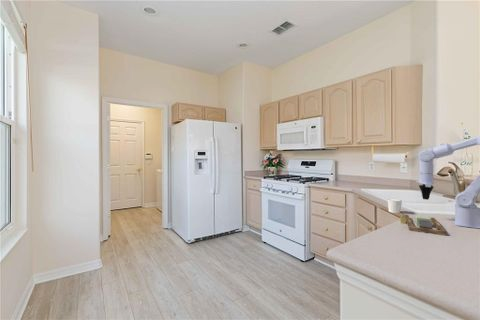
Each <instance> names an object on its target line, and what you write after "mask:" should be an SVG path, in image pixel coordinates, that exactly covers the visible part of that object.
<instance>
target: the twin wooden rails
mask: <svg viewBox="0 0 480 320" xmlns="http://www.w3.org/2000/svg"><path fill="white" fill-rule="evenodd" d="M405 218H406V225H407V227H408V230H409V231H411V232H417V233H426V234H433V235H440V236H447V231H446V230H445V229H444V228H443V226H441V224H440V223H439V222H438V220H437V219H436V218H435V217H430V219H431V222H432V226H434V227H435V229H433V228H432V229H428V228H420V227H419V226H414V224H413V223H412V220H411V218H410V216H409V214H405Z"/></svg>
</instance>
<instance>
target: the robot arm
mask: <svg viewBox="0 0 480 320" xmlns="http://www.w3.org/2000/svg"><path fill="white" fill-rule="evenodd" d="M473 146H480V135H477V136H474V137H471V138H468V139H465V140H462V141H459V142H455V143H452V144H449V143H443V142H442V143H440V144H439V145H436V146H434V147H428V149H423V150H421V151H419V152H418V154H417V157H418V160H419V165H418V180H416V181H415V183H417V184H420V185H418V187H419V189H420V192H421V196H422V199H423V200H429V199H430V195H431V193H432V190H434V186H433V184H434V183H435V182H434V159H436V160H438V159H440V158H443V157H447V156H451V155H453V154H454V153H455V151H458V150H462V149H463V150H464V149H467V148H470V147H473ZM479 195H480V173H478V176H476V177H475V179H474V180H473V181H472V182H471V183H470V184H469V186H468V185H467V187H466V188H465V189H464V190H463V191H461V192H459V193H458V194H456V195H455V197H454V201H455V204H454V207H455V208H454V220H452V221H451V222H452V223H453V224H454V225H455V226H457V227H463V228H465V227H467V228H473V229H480V207H478V205H476V204H475V203H476V202H477V200H478V196H479Z"/></svg>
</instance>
